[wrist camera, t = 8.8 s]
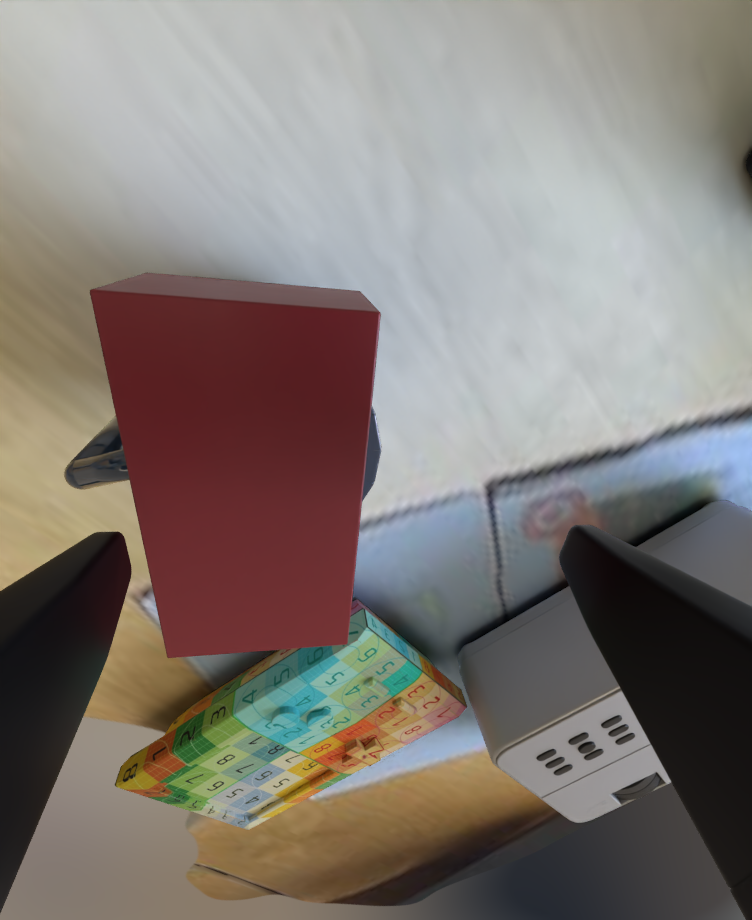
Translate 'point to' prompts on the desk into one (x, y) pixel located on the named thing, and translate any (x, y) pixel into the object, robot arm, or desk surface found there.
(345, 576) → the red rectangular block
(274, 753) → the puzzle game
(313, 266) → the desk surface
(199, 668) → the desk surface
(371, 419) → the mug
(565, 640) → the projector
